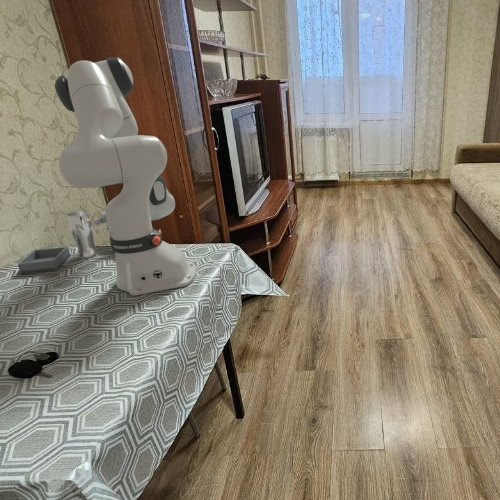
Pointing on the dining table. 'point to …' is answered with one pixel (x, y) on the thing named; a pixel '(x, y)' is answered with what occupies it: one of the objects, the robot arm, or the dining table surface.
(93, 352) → the dining table surface
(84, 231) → the silver tall rounded piece
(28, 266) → the box
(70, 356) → the dining table surface
